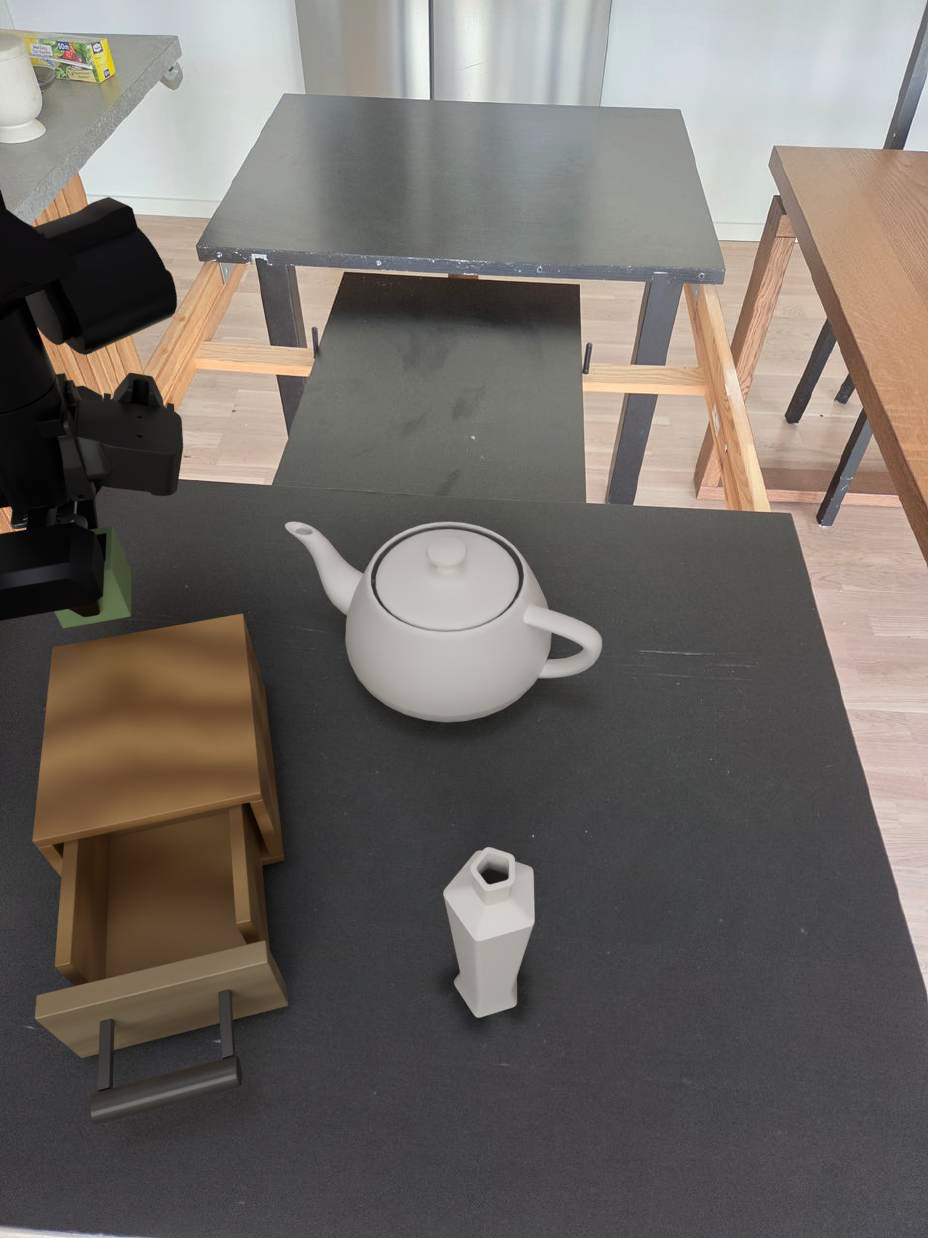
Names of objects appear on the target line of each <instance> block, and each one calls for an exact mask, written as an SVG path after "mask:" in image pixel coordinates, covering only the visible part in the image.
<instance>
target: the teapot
mask: <svg viewBox="0 0 928 1238" xmlns="http://www.w3.org/2000/svg"><path fill="white" fill-rule="evenodd" d="M284 528H285V529H286V531H287V532H288V533H289V534H291V535H292V536H293V537H295V538H296V539H297V540H298V541H299V542H301V543H302V544H303V545H304V547H305V548H306V550H307V551H308V552H309V554H310V555H311V557H312V559H313V562H314V565H315V567H316V570H317V572H318V576H319V579H320V582H321V584H322V587H323V590H324V593H325V595H326V596H327V597H328V599H329V600H330V602H331V604H332V605H333V606H335V607H336V609H338V610H339V611H340V612H341V613H342V614H343V615H345V616H346V619H345V641H344V642H345V649H346V654H347V657H348V661H349V664H350V666H351V668H352V670H353V672H354V674H355V676H356V678H357V680H358V681H359V682H360V683H361V684H362V685H363V687H364V688H365V689H366V690H367V691H368V692H369V694H371V696H373V697H374V698H376V699H377V700H379V701H380V702H381V703H382V704H384V705H385V706H386V707H388V708H389V709H392V710H394V711H397V712H399V713H401V714H403V715H405V716H408V717H412V718H416V719H420V720H423V721H427V722H430V721H431V722H437V723H459V722H468V721H473V720H476V719H481V718H485V717H488V716H491V715H492V714H495V713H497V712H500V711H502V710H504V709H507V708H508V707H510V705H512V704H514V703H515V702H517V701H518V700H520V698H522V697H523V696H524V695H525V694H526V692H528V691H529V690H530V689H531V688H532V687H533V686H534V685H535V683H536V682H537V680H538V679H557V678H566V677H571V676H575V675H578V674H580V673H582V672H583V673H584V671H587V670H588V669H589V668H591V667H592V666H593V665H594V664H595V663H596V661H598V659H599V658H600V655H601V653H602V649H603V638H602V635H601V634H600V632H599V631H597V630H596V629H595V628H594V627H593V626H592V625H589V624H587V623H586V622H584V621H581V620H579V619H577V618H575V617H572V616H570V615H566V614H564V613H561V612H558V611H555V610H552V609H549V605H548V601H547V599H546V596H545V595H544V592H543V590H542V588H541V585H540V584H539V582H538V580H537V577H536V575H535V574H534V572H533V570H532V569H531V567H530V565H529V564H528V561H526V559H525V558H524V556H523V555H522V554H521V552H520V551H519V550H518V549H517V547H516V546H515V545H513V544H512V543H511V542H510V541H509V540H508V539H507V538H505V537H503V536H502V535H500V534H499V533H497V532H495V531H493V530H490V529H489V528H485V527H484V526H481V525H477V524H471V523H467V522H459V521H436V522H430V523H423V524H420V525H417V526H414V527H411V528H408V529H405V530H404V531H402V532H399V533H397V534H396V535H393V537H391V538H390V539H389V540H387V541H386V542H384V544H383V545H381V547H380V548H379V549H378V550H377V551H376V552H375V553H374V555H373V556H372V558H371V560H370V561H369V563H368V565H367V566H366V568H365V570H364V572H361V571H360V570H358V569H356V568H355V567H354V566H352V565H351V564H350V563H348V562H347V561H346V559H345V558H343V556H341V554H340V553H339V552H338V551H337V549H336V548H335V547H334V546H333V544H332V543H331V541H329V539H328V538H327V537H326V536H325V535H324V534H323V533H321V532H320V531H319V530H318V529H316V528H315V527H314V526H312V525H310V524H307V523H304V522H300V521H288V522H286V523H285V524H284ZM552 634H555V635H558V636H560V637H563V638H566V639H568V640H570V641H571V642H574V643H576V644H577V645H579V646H581V647H582V648H583V649H582V650H581V651H580V652H578V653H576V654H574V655H572V656H567V657H564V658H563V657H562V658H548V657H549V654H550V652H551V646H552V636H553V635H552Z"/></svg>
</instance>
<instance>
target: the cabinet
mask: <svg viewBox="0 0 928 1238" xmlns="http://www.w3.org/2000/svg"><path fill="white" fill-rule="evenodd" d="M46 696H47V697H46V706H45V718H44V725H43V734H42V735H43V736H42V745H41V754H40V762H39V763H40V765H39V774H38V783H37V790H36V791H37V793H36V803H35V811H34V812H35V813H34V821H33V823H34V824H33V829H32V841H31V842H32V843H33V844H34V845H35V846H36V848H37V849H38V850H39V852H40V853H41V854H42V856H43V857H44V858H45V859H46V861H48V863H49V864H50V865H51V867H52V868H53V869H54V870H55V871H56V873H57V874H58V875H59V877H61V876H62V863H63V850H64V842H67V841H72V840H76V839H81V838H86V837H90V836H95V835H100V834H104V833H109V832H114V831H118V830H123V829H128V828H132V827H137V826H142V825H146V824H151V823H156V822H160V821H165V820H170V819H174V818H179V817H184V816H188V815H193V814H198V813H202V812H207V811H212V810H216V809H221V808H226V807H230V806H235V805H240V804H244V803H249V802H250V805H251V808H252V810H253V813H254V815H255V818H256V821H257V823H258V828H259V838H260V849H261V860H262V867H263V866H268V865H272V864H275V863H281V862H284V861H285V852H284V843H283V834H282V826H281V817H280V816H281V815H280V808H279V799H278V790H277V781H276V773H275V764H274V763H275V762H274V755H273V746H272V737H271V729H270V722H269V721H270V720H269V713H268V711H269V709H268V703H267V694H266V688H265V684H264V681H263V676H262V673H261V670H260V667H259V663H258V660H257V657H256V654H255V650H254V646H253V644H252V639H251V636H250V633H249V629H248V625H247V623H246V619H245V615H244V614H243V613H238V614H233V615H232V614H231V615H227V616H221V617H215V618H210V619H204V620H198V621H193V622H188V623H181V624H177V625H171V626H165V627H160V628H154V629H148V630H142V631H138V632H131V633H126V634H119V635H115V636H109V637H104V638H98V639H92V640H86V641H81V642H76V643H75V642H74V643H70V644H65V645H59V646H53V647H52V649H51V659H50V667H49V677H48V687H47V695H46Z"/></svg>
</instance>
